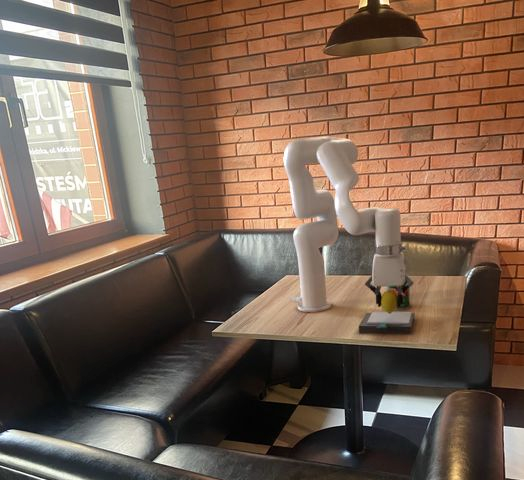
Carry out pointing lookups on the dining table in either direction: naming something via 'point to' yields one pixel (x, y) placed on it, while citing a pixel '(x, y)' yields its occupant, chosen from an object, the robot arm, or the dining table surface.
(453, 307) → the dining table surface
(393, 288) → the canned tomato
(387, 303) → the lemon
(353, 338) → the dining table surface
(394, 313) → the scale
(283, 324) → the dining table surface
